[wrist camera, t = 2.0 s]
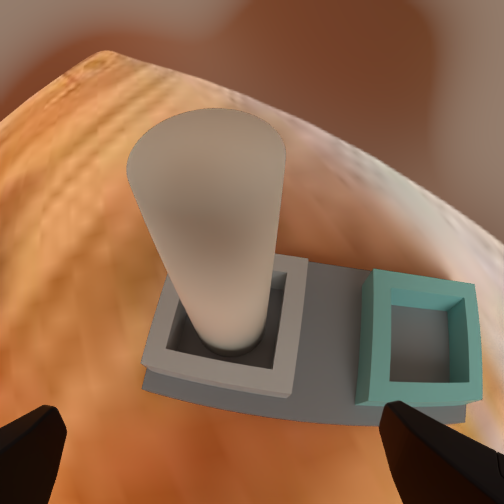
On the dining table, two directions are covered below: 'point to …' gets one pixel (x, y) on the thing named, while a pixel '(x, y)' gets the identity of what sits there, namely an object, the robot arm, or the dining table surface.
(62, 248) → the dining table surface
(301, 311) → the socket board
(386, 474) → the dining table surface
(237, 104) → the dining table surface
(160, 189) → the peg
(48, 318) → the dining table surface
